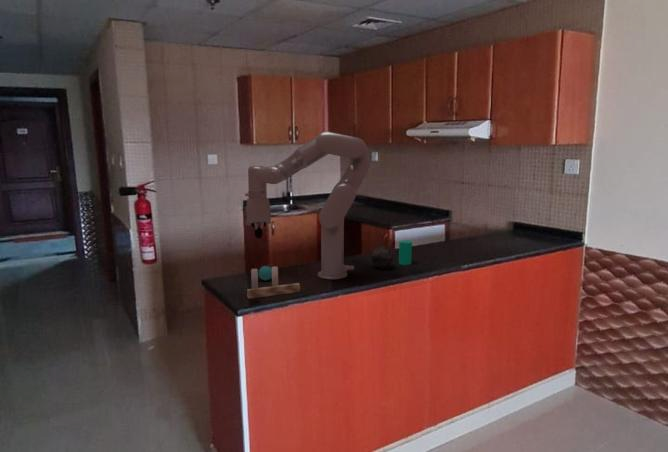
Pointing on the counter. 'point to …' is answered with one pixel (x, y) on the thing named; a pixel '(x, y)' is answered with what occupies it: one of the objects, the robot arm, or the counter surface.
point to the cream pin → (274, 276)
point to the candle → (405, 252)
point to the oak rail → (273, 290)
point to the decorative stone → (382, 257)
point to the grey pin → (254, 278)
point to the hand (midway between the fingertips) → (258, 237)
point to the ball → (265, 273)
